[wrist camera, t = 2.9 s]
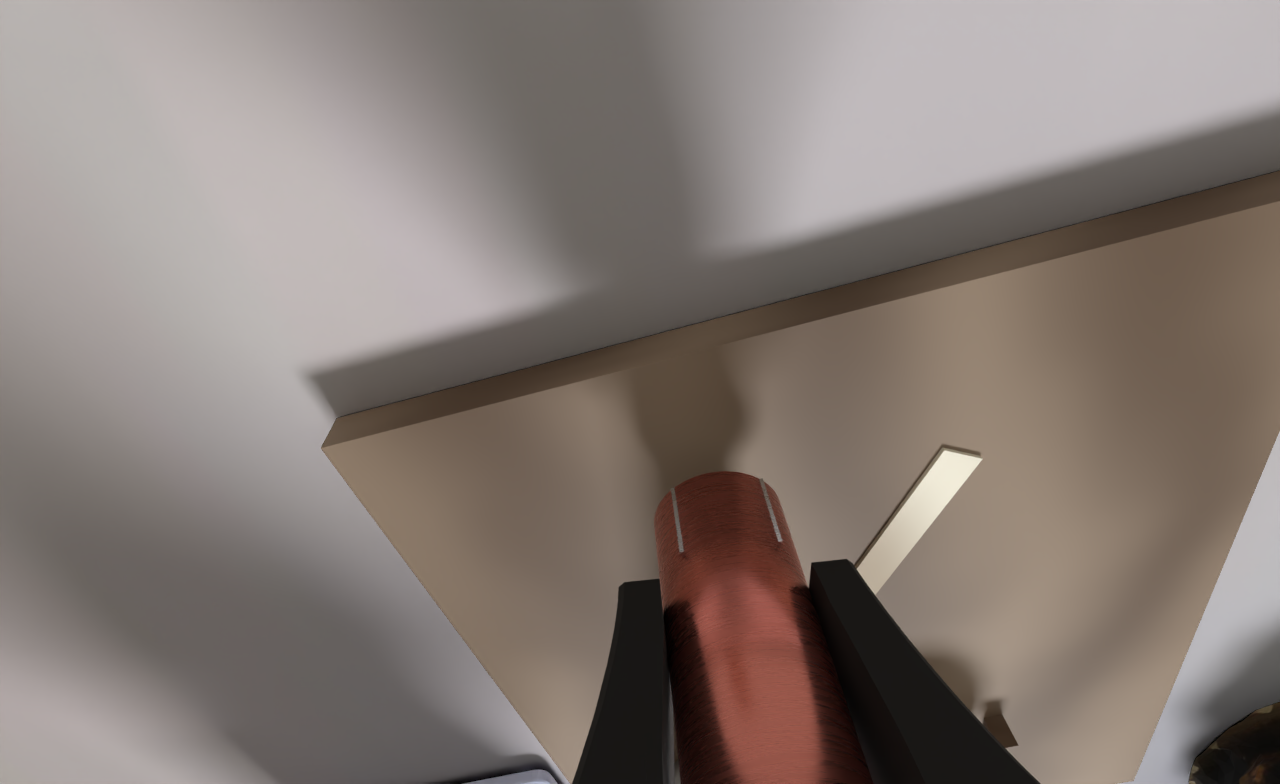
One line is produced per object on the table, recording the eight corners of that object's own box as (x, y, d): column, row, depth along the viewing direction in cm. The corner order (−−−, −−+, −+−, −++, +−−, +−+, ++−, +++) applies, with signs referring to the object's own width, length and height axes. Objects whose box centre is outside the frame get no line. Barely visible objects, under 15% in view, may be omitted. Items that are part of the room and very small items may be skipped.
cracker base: (632, 840, 28) (637, 968, 24) (336, 418, 14) (252, 575, 10) (1116, 753, 26) (1197, 880, 22) (1331, 157, 12) (1635, 246, 8)
